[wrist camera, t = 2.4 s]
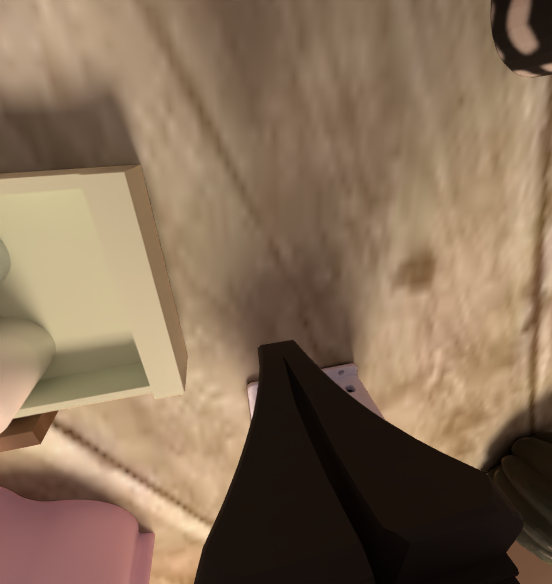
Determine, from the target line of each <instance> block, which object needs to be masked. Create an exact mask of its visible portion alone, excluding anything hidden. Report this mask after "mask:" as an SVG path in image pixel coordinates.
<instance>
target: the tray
mask: <svg viewBox="0 0 552 584" xmlns="http://www.w3.org/2000/svg"><path fill="white" fill-rule="evenodd" d="M0 239H1V240H2V241H3V243H4V244H5V246H6V248H7V250H8V252H9V256H10V262H11V264H10V270H9V273H8V275H7V276H6V278H5V279H4V280H3V281H2V282H0V317H1V316H11V317H18V318H23V319H26V320H29V321H32V322H34V323H36V324H38V325H39V326H41V327H42V328H44V329H45V330H46V331H47V332H48V333H49V334H50V335H51V336H52V338H53V340H54V342H55V345H56V354H55V357H54V359H53V360H52V362H51V363H50V365H49V366H48V368H47V369H46V371H45V372H44V374H43V375H42V376H41V378H40V379H39V381H38V382H37V384H36V385H35V387H34V388H33V390H32V391H31V393H30V394H29V396H28V397H27V399H26V400H25V402H24V403H23V405H22V406H21V407H20V409H19V410H18V412H17V413H16V415H15V416H14V418H19V417H24V416H30V415H35V414H41V413H46V412H51V411H57V410H62V409H68V408H73V407H78V406H84V405H89V404H94V403H100V402H105V401H111V400H116V399H121V398H127V397H132V396H138V395H143V394H148V393H153V396H154V399H160V398H165V397H170V396H175V395H181V394H185V383H186V370H187V358H188V356H187V352H186V348H185V344H184V340H183V336H182V332H181V327H180V323H179V319H178V315H177V311H176V307H175V303H174V299H173V295H172V291H171V287H170V282H169V278H168V274H167V270H166V266H165V262H164V258H163V254H162V250H161V246H160V242H159V238H158V233H157V229H156V225H155V221H154V217H153V213H152V209H151V205H150V201H149V197H148V193H147V189H146V184H145V180H144V176H143V172H142V168H141V164H140V165H125V166H109V167H93V168H78V169H62V170H46V171H31V172H15V173H0ZM14 418H13V419H14Z"/></svg>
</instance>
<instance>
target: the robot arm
mask: <svg viewBox="0 0 552 584" xmlns="http://www.w3.org/2000/svg"><path fill="white" fill-rule="evenodd" d="M258 355H259V366H260V372H259V381H256V382H251V383H249V384H248V386H247V391H248V399H249V407H250V415H251V424H250V428H249V431H248V435H247V438H246V442H245V445H244V448H243V451H242V454H241V457H240V460H239V463H238V466H237V469H236V472H235V474H234V477H233V479H232V482H231V484H230V487H229V489H228V492H227V495H226V497H225V500H224V502H223V504H222V507H221V509H220V511H219V514H218V516H217V518H216V520H215V522H214V524H213V527H212V529H211V531H210V533H209V535H208V538H207V540H206V542H205V544H204V546H203V549H202V554H201V558H200V561H199V565H198V569H197V573H196V577H195V581H194V584H520V583H519V581H518V580H517V579H516V578H515V576H517V575H518V574H519V572H518V569H517V567H516V566H515V564H514V563H513V562H512V560H511V559H510V557H509V556H508V555H507V553H506V552H507V551H508V549H509V548H510V546H511V545H512V544H513V542H514V541H515V540H516V538H517V537H518V536H519V534H520V533H521V531H522V529H523V516H522V515H521V513H520V512H519V511H518V510H517V509H516V507H515V506H514V505H513V504H512V502H511V501H510V500H509V499H508V497H507V496H506V495H505V494H504V493H503V491H502V490H501V489H500V488H499V487H498V486H497V485H496V484H495V483H494V481H493V480H492V479H491V478H490V477H489V476H488V475H487V474H486V473H485V472H482V471H480V470H478V469H476V468H474V467H472V466H470V465H467V464H465V463H463V462H461V461H459V460H457V459H455V458H452V457H450V456H448V455H446V454H444V453H442V452H440V451H438V450H436V449H434V448H432V447H430V446H429V445H427V444H425V443H423V442H421V441H419V440H417V439H415V438H414V437H412V436H410V435H409V434H407V433H405V432H404V431H402V430H400V429H399V428H397V427H395V426H394V425H392V424H390V423H389V422H387V421H386V420H385V419H384V417H383V415H382V414H381V412H380V411H379V409H378V408H377V406H376V404H375V403H374V401H373V400H372V398H371V396H370V395H369V393H368V392H367V390H366V389H365V387H364V385H363V384H362V382H361V381H360V379H359V377H358V376H357V367H356V365H355V364H353V363H351V364H345V365H340V366H335V367H330V368H324V369H320V368H319V367H318V366H317V365H316V364H315V363H314V362H313V361H312V360H311V359H310V358H309V357H308V356H307V354H306V353H305V352H304V351H303V350H302V349H301V348H300V347H299V346H298V344H297V343H296V342H295V341H293V340H289V341H283V342H277V343H271V344H266V345H261V346H260V347H259V348H258ZM339 371H340V372H339Z"/></svg>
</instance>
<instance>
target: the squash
mask: <svg viewBox="0 0 552 584" xmlns="http://www.w3.org/2000/svg"><path fill="white" fill-rule="evenodd" d="M512 453H513V455H507V456H505V457H503V458H502V460H501V465H497V466H495V467H493V468H492V469H491V470H490V471H489V473H488V476H489V477H490V478H491V479H492V480H493V481H494V483H495V484H496V485H497V486H498V487H499V488H500V489H501V490H502V491H503V493H504V494H505V495H506V496H507V497H508V499H509V500H510V501H511V502H512V504H513V505H514V506H515V507H516V509H517V510H518V511H519V512H520V513H521V515H522V516H523V529H522V531H521V533H520V534H519V536H518V537H517V538H516V541H517V542H518V543H519V544H521V545H522V546H523V547H525V548H526V549H527V550H529V551H530V552H532V553H533V554H535V555H536V556H537V557H539V558H540V559H541V560H543V561H544V562H546V563H548V564H550V565H552V432H541V433H537V434H534V435H533V436H531V437H530V438H528V437H523V438H520V439H519V440H517V441H515V443H514V444H513V446H512Z"/></svg>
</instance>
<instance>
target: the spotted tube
mask: <svg viewBox="0 0 552 584" xmlns="http://www.w3.org/2000/svg"><path fill="white" fill-rule="evenodd" d="M491 22H492V32H493V38H494V41H495V45H496V48H497V51H498V53H499V55H500V57H501V59H502V60H503V62H504V63H505V64H506V65H507V66H508V67H509V68H510V69H511V70H512V71H513V72H515V73H517V74H519V75H521V76H526V77H539V76H546V75H551V74H552V0H492V9H491Z"/></svg>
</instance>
